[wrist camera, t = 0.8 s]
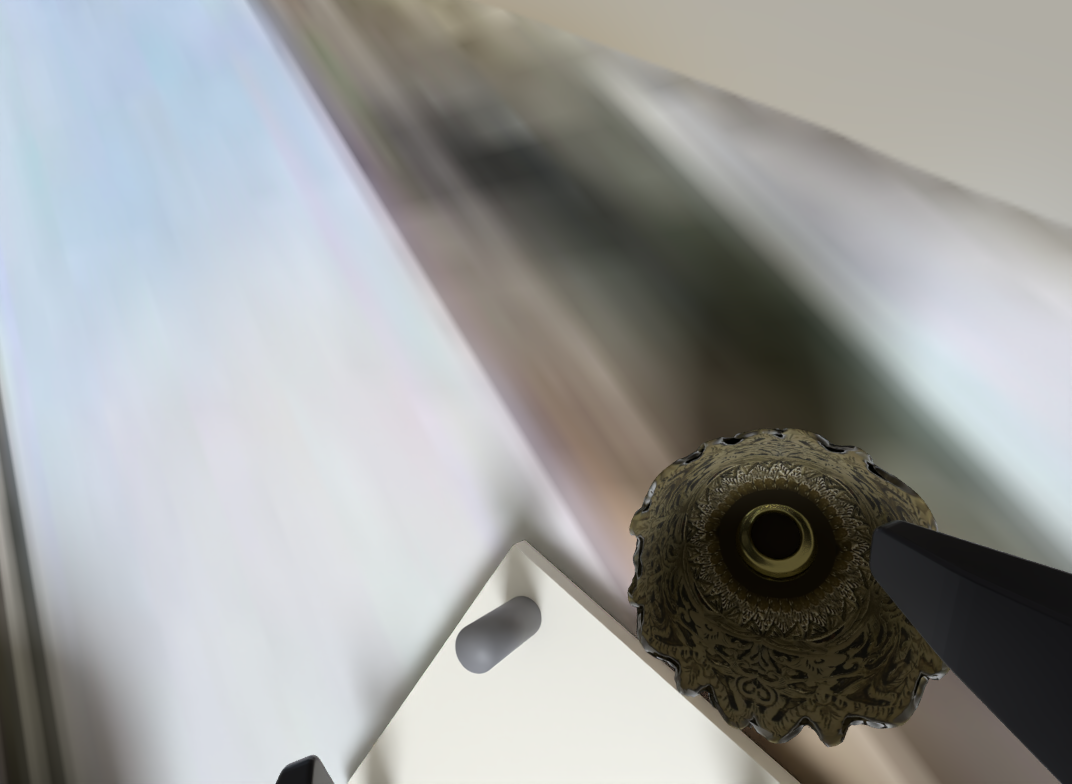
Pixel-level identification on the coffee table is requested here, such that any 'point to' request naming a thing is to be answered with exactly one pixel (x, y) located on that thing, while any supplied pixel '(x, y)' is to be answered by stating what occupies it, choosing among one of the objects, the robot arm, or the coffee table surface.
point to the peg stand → (555, 701)
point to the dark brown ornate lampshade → (779, 586)
